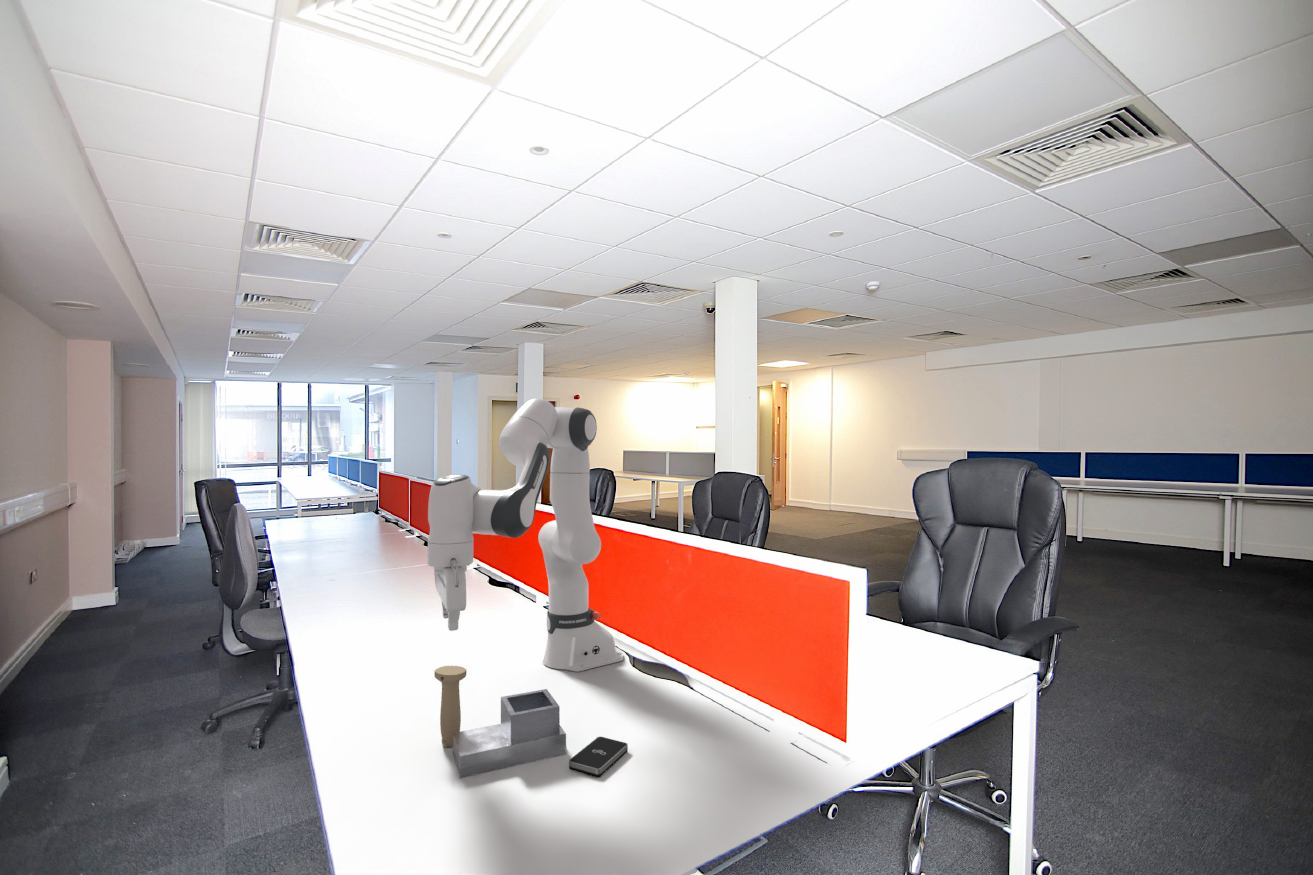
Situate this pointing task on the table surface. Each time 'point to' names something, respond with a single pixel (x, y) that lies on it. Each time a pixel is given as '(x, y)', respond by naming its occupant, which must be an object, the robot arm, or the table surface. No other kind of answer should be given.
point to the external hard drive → (598, 756)
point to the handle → (450, 701)
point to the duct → (512, 736)
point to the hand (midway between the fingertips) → (450, 623)
